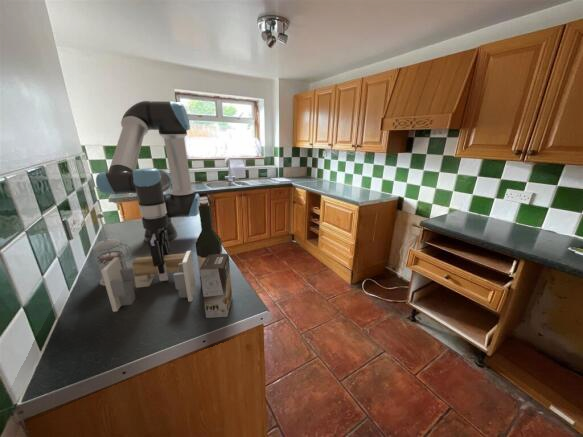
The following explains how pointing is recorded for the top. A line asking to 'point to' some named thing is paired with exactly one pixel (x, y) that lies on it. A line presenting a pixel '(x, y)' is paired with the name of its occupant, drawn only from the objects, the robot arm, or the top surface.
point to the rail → (147, 268)
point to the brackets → (123, 280)
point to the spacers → (144, 280)
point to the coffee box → (216, 285)
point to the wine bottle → (206, 237)
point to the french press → (109, 255)
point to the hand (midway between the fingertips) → (165, 276)
